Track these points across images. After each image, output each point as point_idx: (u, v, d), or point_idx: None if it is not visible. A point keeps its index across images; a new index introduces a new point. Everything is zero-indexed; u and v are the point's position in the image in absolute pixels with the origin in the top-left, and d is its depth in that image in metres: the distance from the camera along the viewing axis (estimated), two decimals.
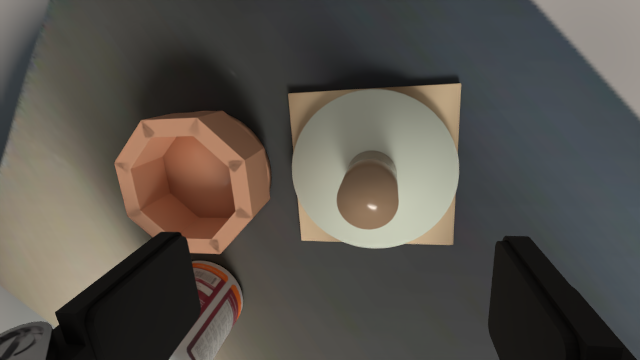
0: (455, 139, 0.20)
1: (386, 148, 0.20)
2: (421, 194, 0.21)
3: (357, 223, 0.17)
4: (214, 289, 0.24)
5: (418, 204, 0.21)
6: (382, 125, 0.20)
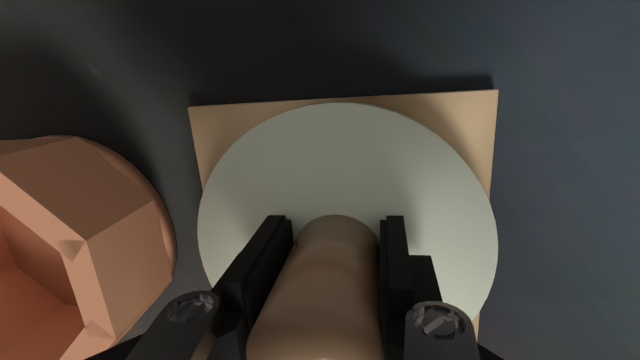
0: (485, 191, 0.11)
1: (362, 211, 0.11)
2: None
3: None
4: None
5: None
6: (354, 170, 0.11)
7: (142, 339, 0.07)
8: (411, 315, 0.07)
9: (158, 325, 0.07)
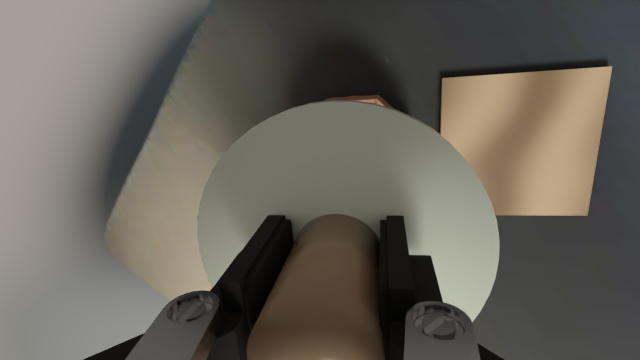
0: (601, 118, 0.23)
1: (363, 211, 0.11)
2: None
3: None
4: None
5: None
6: (355, 170, 0.11)
7: (142, 339, 0.07)
8: (411, 315, 0.07)
9: (158, 325, 0.07)
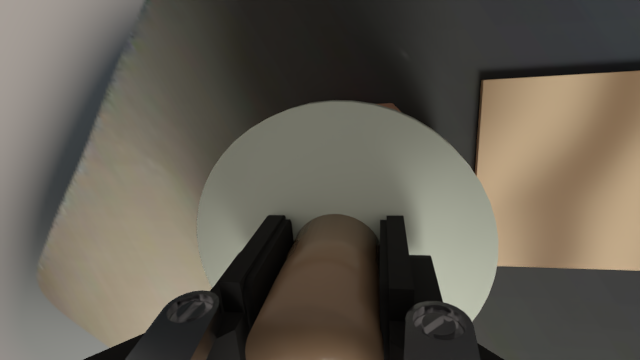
0: None
1: (362, 211, 0.11)
2: None
3: None
4: None
5: None
6: (354, 170, 0.11)
7: (142, 339, 0.07)
8: (411, 315, 0.07)
9: (158, 325, 0.07)
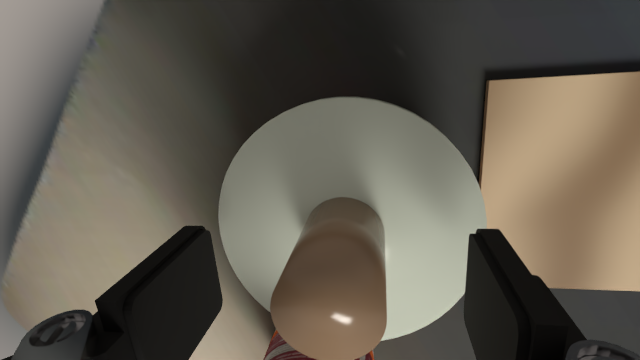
0: None
1: (366, 194, 0.12)
2: (424, 266, 0.13)
3: (311, 351, 0.09)
4: None
5: (419, 281, 0.13)
6: (359, 157, 0.12)
7: None
8: None
9: (22, 355, 0.06)
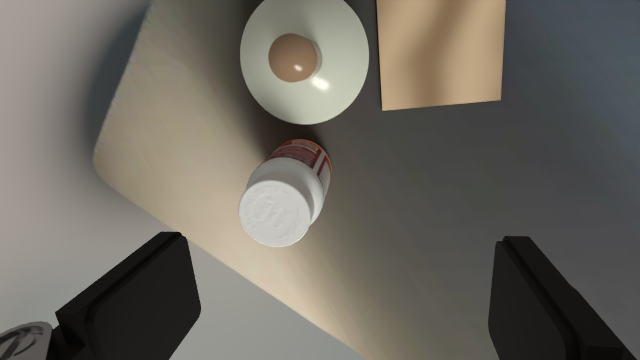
0: (503, 13, 0.28)
1: (311, 35, 0.26)
2: (342, 72, 0.27)
3: (285, 78, 0.23)
4: (317, 152, 0.31)
5: (341, 81, 0.27)
6: (307, 16, 0.26)
7: None
8: None
9: None
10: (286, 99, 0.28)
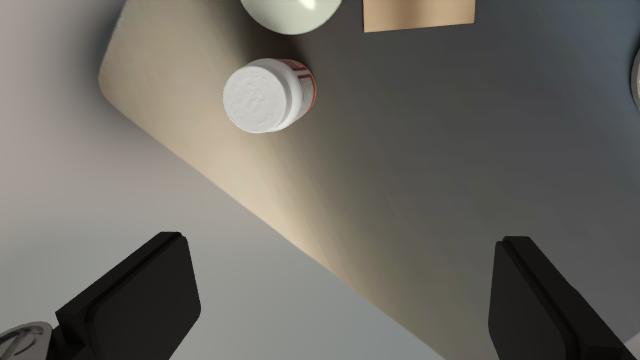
0: None
1: None
2: None
3: None
4: (301, 67, 0.34)
5: None
6: None
7: None
8: None
9: None
10: (273, 9, 0.30)
